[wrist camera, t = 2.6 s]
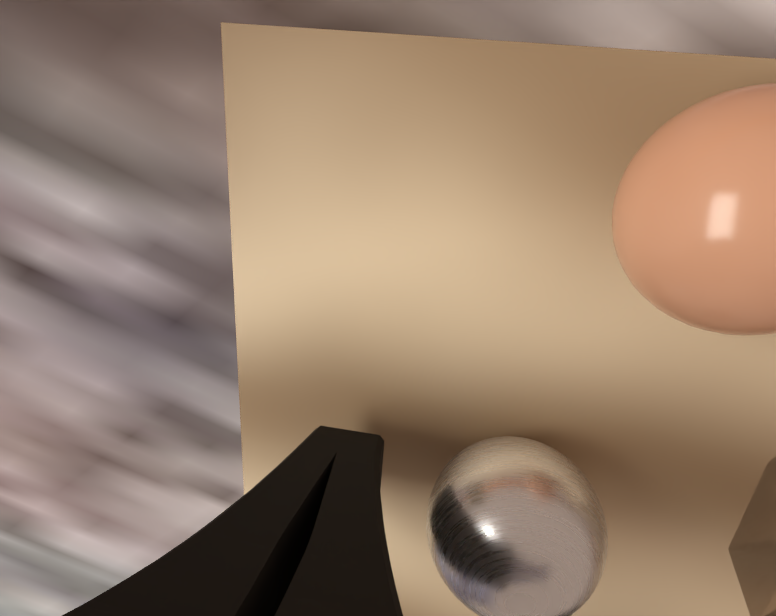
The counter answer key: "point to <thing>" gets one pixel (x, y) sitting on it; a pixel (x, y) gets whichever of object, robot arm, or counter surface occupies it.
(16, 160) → the counter surface
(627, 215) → the terracotta ball
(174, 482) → the counter surface
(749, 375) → the board
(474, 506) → the steel ball
